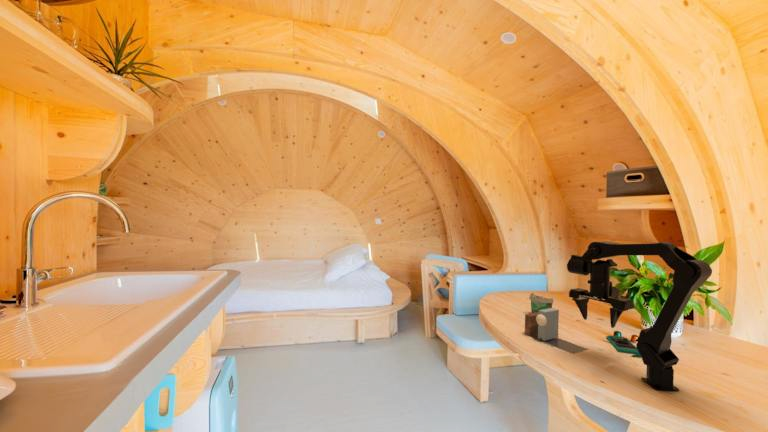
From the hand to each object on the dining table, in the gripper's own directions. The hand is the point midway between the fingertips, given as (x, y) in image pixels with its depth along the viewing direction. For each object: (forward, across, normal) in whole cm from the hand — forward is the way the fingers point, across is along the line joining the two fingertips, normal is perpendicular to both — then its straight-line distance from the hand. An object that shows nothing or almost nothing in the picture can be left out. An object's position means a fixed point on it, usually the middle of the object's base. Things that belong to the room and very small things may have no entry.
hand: (598, 323), depth 117 cm
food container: (+13, +43, -24) cm, 51 cm away
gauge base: (+13, +17, +1) cm, 21 cm away
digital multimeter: (+14, +2, -20) cm, 24 cm away
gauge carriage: (+12, +20, +1) cm, 23 cm away
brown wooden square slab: (+13, +26, 0) cm, 29 cm away
